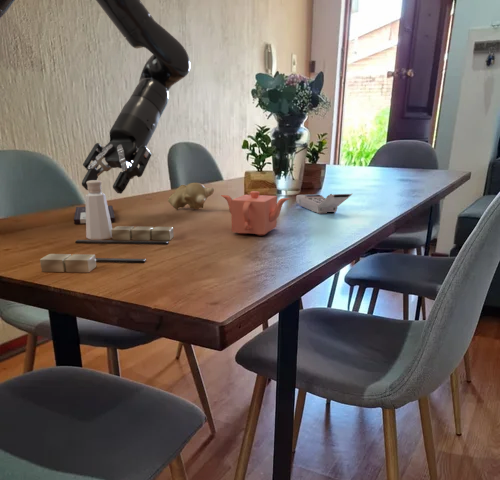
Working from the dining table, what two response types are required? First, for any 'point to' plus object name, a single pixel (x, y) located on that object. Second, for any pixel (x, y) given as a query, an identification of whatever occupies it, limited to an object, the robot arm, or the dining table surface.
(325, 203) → the mobile phone
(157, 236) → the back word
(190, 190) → the rhino figurine
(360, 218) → the dining table surface
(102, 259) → the front word
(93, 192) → the pepper shaker
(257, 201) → the teapot
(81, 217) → the chocolate bar
